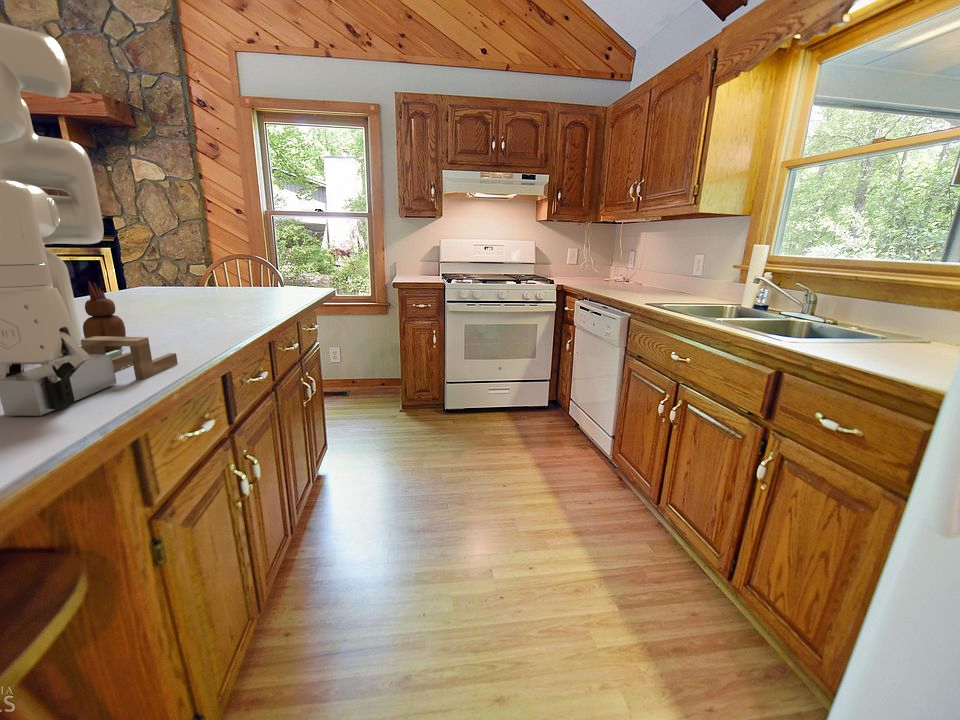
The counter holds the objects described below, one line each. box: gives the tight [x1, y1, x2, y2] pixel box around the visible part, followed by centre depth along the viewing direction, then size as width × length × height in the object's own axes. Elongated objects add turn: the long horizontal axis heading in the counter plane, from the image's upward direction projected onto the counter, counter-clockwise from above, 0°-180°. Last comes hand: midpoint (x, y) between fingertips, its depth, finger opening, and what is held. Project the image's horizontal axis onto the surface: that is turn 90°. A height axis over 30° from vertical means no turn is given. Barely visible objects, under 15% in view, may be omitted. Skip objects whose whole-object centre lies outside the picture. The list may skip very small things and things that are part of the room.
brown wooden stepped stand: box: [81, 336, 179, 380], centre depth 79 cm, size 9×10×7 cm
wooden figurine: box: [82, 280, 127, 353], centre depth 91 cm, size 7×6×15 cm
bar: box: [0, 354, 117, 416], centre depth 65 cm, size 5×14×5 cm, turn 4°
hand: (43, 404), depth 61 cm, fingers closed on bar, 4 cm apart
